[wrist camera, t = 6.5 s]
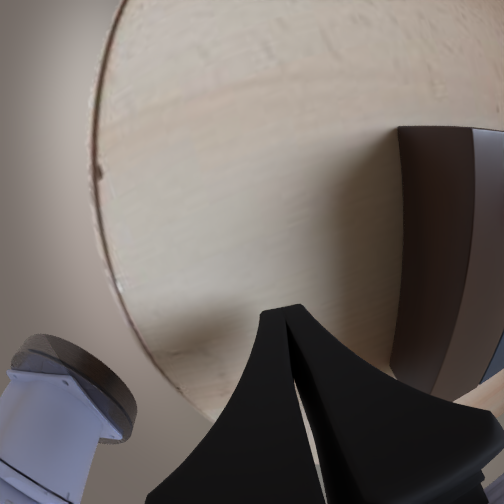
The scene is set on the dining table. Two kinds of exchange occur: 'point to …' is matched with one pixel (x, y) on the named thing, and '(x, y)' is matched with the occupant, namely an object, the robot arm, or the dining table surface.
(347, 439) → the robot arm
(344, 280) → the dining table surface
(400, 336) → the walnut bar
